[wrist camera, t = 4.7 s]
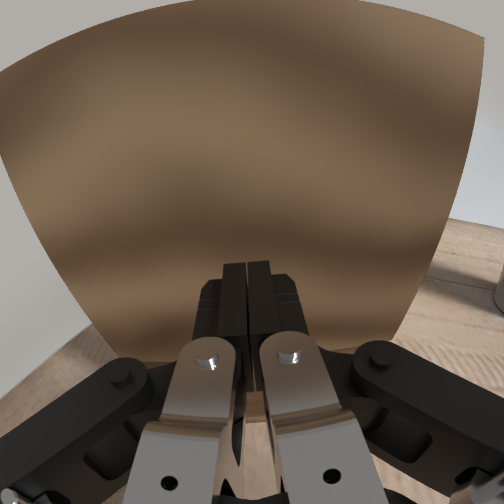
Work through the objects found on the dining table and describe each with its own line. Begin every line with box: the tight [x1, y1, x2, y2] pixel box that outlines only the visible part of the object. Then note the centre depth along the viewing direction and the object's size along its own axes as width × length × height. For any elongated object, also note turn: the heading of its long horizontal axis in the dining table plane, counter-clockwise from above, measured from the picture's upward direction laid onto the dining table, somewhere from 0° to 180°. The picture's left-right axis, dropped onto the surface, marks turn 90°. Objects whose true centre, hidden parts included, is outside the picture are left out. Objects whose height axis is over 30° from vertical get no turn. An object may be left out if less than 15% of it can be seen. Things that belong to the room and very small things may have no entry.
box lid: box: [0, 0, 484, 362], centre depth 12 cm, size 18×18×1 cm
